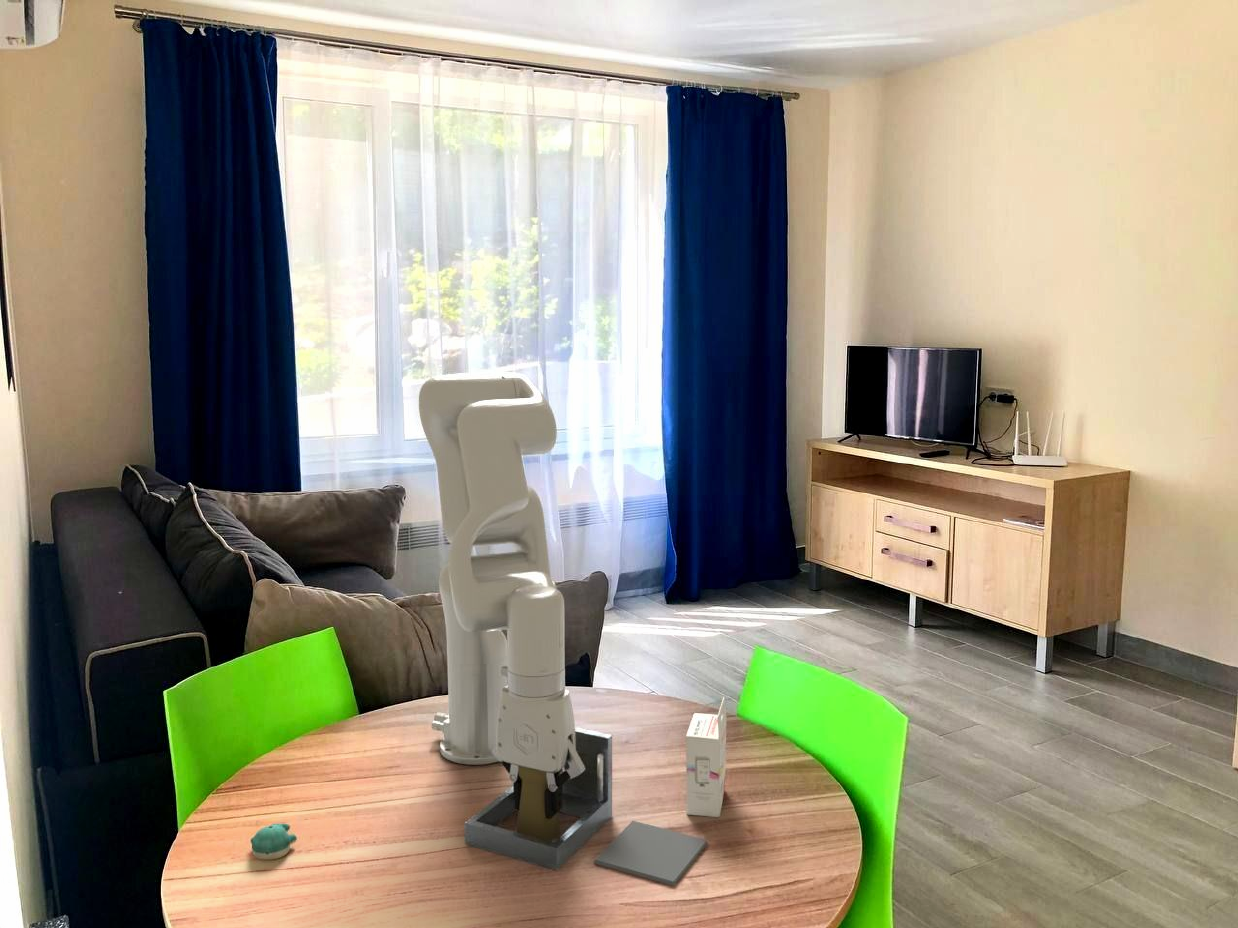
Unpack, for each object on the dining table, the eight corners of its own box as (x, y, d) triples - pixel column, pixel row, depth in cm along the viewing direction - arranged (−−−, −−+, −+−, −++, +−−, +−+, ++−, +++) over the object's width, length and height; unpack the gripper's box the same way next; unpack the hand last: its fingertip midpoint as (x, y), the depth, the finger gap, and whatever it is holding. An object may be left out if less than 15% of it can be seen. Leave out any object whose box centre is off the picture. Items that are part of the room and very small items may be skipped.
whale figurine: (243, 864, 128) (241, 836, 127) (259, 835, 135) (257, 808, 134) (290, 862, 128) (288, 834, 128) (303, 833, 136) (302, 806, 135)
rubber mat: (594, 863, 128) (594, 859, 128) (632, 824, 137) (632, 820, 137) (673, 885, 123) (673, 881, 123) (707, 843, 133) (707, 839, 132)
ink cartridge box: (692, 786, 148) (693, 691, 146) (725, 790, 147) (727, 694, 145) (684, 815, 140) (685, 714, 138) (719, 818, 139) (721, 717, 137)
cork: (567, 824, 137) (566, 748, 136) (550, 846, 132) (549, 768, 130) (527, 817, 139) (525, 742, 138) (508, 839, 134) (506, 761, 132)
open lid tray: (465, 843, 132) (463, 757, 131) (526, 794, 146) (525, 716, 144) (556, 870, 126) (555, 780, 124) (612, 816, 140) (612, 734, 138)
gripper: (467, 679, 133) (470, 808, 135) (578, 701, 125) (578, 837, 128) (499, 661, 139) (501, 785, 142) (605, 681, 132) (606, 811, 135)
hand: (538, 808), depth 135 cm, fingers closed on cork, 4 cm apart
